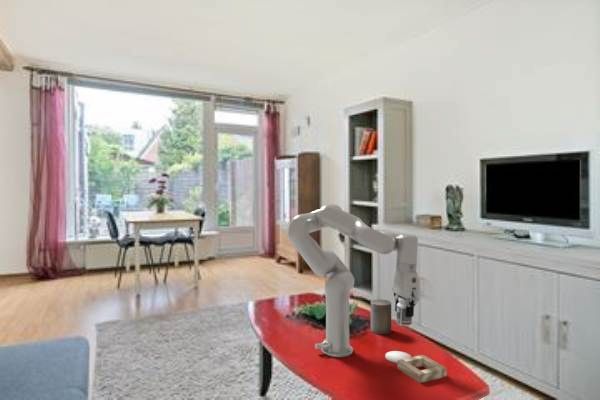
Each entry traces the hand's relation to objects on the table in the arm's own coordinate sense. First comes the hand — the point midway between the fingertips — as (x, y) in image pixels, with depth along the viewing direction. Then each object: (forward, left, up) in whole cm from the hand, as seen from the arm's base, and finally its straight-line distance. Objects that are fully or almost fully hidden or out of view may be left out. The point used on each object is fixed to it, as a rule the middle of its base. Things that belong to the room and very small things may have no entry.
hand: (404, 313), depth 146 cm
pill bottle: (0, 0, -4) cm, 4 cm away
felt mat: (0, +4, -19) cm, 19 cm away
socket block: (0, -9, -19) cm, 21 cm away
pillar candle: (+11, +31, -19) cm, 38 cm away
